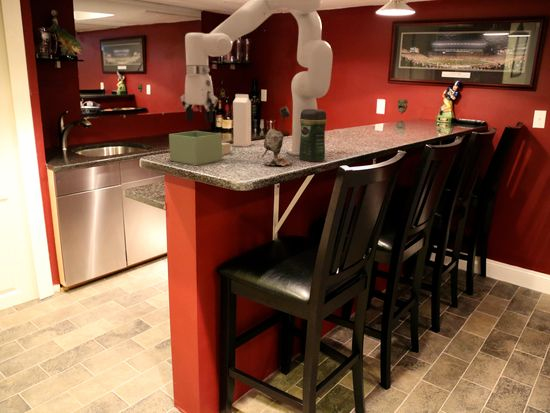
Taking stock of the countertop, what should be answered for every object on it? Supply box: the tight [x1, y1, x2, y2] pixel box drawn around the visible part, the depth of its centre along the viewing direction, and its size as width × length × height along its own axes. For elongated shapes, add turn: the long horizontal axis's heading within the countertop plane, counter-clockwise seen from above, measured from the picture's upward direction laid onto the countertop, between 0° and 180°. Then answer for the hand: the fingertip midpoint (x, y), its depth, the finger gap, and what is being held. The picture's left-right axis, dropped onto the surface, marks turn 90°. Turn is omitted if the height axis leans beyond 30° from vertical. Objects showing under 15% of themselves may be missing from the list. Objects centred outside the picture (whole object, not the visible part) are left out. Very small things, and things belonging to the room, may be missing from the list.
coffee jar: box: [298, 108, 327, 163], centre depth 163 cm, size 10×8×19 cm
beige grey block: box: [222, 141, 231, 156], centre depth 177 cm, size 5×5×4 cm
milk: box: [232, 93, 252, 147], centre depth 194 cm, size 6×6×22 cm
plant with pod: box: [261, 106, 293, 167], centre depth 154 cm, size 8×11×20 cm
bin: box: [168, 130, 223, 166], centre depth 161 cm, size 13×13×10 cm
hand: (199, 121), depth 158 cm, fingers open, 9 cm apart
